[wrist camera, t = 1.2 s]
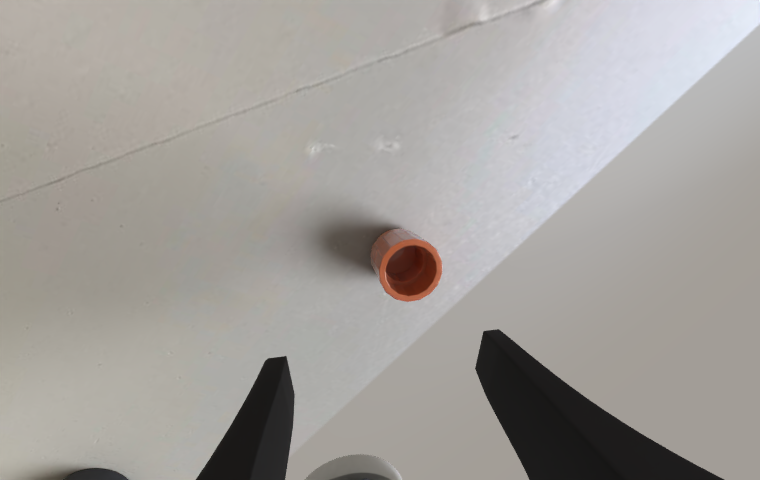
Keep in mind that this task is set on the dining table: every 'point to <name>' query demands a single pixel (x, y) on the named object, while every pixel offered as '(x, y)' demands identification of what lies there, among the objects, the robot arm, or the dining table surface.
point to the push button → (95, 475)
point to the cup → (406, 264)
